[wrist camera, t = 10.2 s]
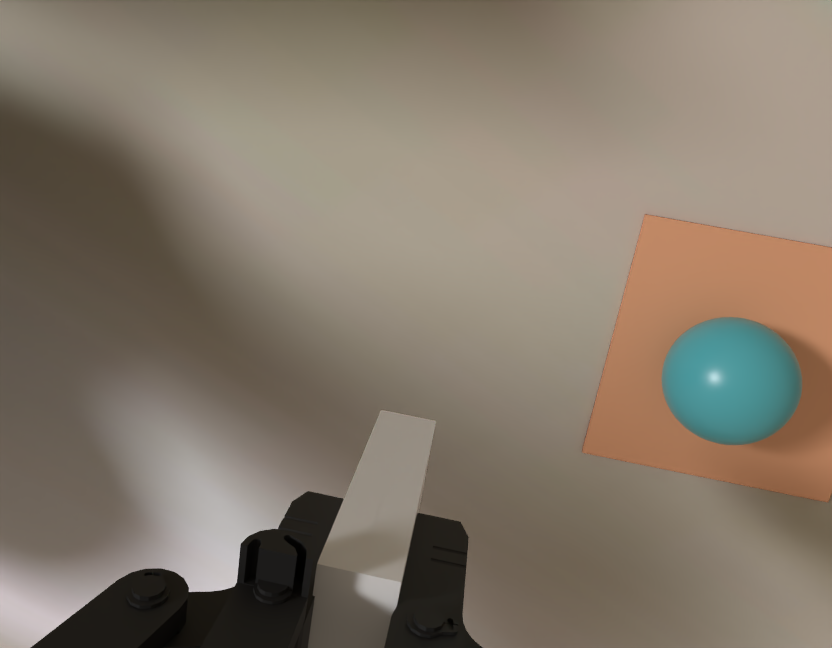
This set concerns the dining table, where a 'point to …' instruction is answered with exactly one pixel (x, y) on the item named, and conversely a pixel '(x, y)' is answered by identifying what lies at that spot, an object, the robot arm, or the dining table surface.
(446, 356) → the dining table surface
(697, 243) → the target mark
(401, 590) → the robot arm
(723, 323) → the ball
